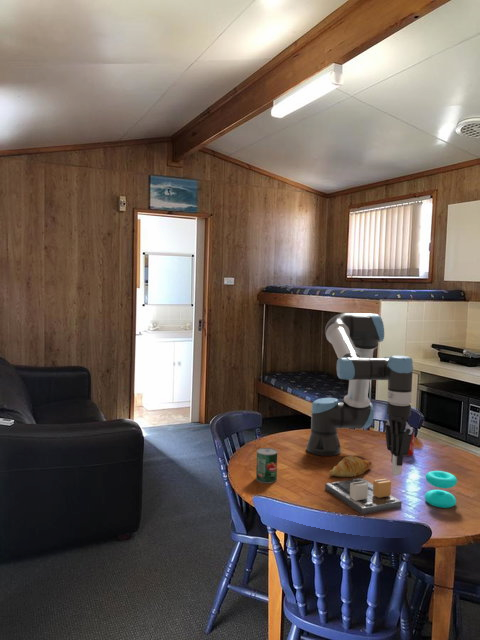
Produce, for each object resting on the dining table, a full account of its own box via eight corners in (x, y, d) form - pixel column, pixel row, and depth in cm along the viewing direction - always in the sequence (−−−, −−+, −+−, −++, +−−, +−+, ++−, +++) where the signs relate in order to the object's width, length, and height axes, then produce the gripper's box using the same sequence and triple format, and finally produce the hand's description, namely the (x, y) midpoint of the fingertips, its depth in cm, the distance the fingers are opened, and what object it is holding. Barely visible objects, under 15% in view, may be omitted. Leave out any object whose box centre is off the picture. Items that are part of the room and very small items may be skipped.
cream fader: (349, 497, 174) (350, 482, 174) (361, 495, 176) (362, 480, 176) (355, 500, 171) (355, 485, 171) (367, 498, 173) (367, 483, 173)
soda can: (412, 452, 230) (413, 426, 229) (414, 457, 223) (415, 430, 223) (397, 451, 231) (398, 425, 230) (399, 456, 225) (400, 429, 224)
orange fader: (373, 494, 177) (373, 479, 177) (384, 492, 179) (385, 477, 178) (378, 497, 174) (379, 482, 174) (390, 495, 176) (390, 480, 176)
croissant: (335, 488, 196) (342, 473, 193) (320, 469, 204) (326, 454, 200) (374, 477, 207) (382, 463, 204) (359, 459, 215) (365, 445, 211)
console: (325, 489, 186) (325, 482, 186) (361, 483, 193) (361, 476, 192) (361, 514, 166) (362, 506, 166) (401, 507, 172) (401, 499, 172)
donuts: (419, 473, 177) (437, 467, 183) (418, 501, 178) (435, 494, 183) (446, 482, 169) (463, 476, 175) (444, 511, 169) (461, 504, 175)
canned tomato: (275, 484, 190) (276, 455, 190) (254, 482, 192) (255, 453, 191) (277, 476, 198) (278, 448, 197) (257, 474, 200) (258, 447, 199)
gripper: (377, 400, 172) (374, 468, 174) (403, 408, 160) (400, 482, 162) (395, 398, 175) (392, 466, 177) (422, 406, 163) (419, 479, 165)
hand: (396, 474), depth 169 cm, fingers closed
